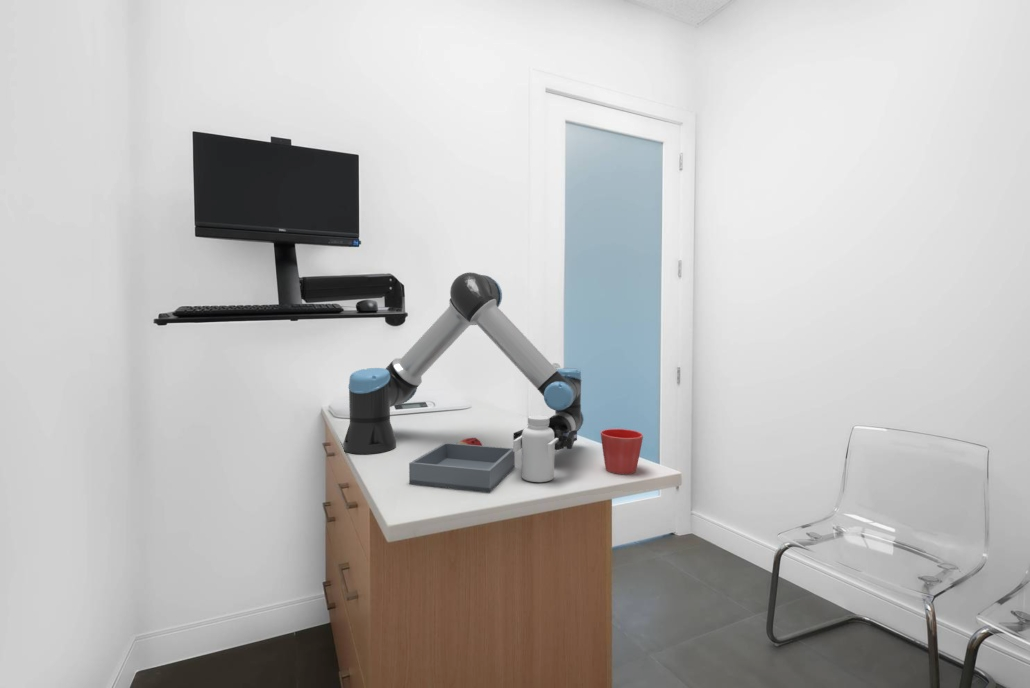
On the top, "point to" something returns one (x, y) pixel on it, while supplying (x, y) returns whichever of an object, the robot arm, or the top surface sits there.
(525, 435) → the pill bottle
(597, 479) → the top surface
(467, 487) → the tray
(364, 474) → the top surface
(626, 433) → the flower pot
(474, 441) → the ladybug figurine
